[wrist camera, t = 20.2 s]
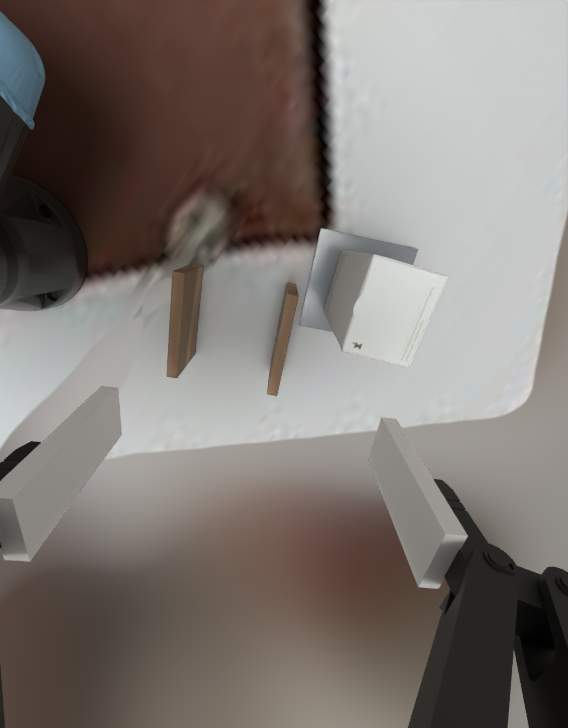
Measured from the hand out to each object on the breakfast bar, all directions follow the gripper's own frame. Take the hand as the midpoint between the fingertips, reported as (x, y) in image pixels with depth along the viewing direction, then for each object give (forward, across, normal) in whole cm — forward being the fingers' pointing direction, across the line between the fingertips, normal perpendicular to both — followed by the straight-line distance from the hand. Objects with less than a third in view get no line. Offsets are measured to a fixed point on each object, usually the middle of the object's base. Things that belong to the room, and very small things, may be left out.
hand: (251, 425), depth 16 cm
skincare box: (+27, +11, +4) cm, 29 cm away
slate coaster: (+27, +11, +3) cm, 29 cm away
